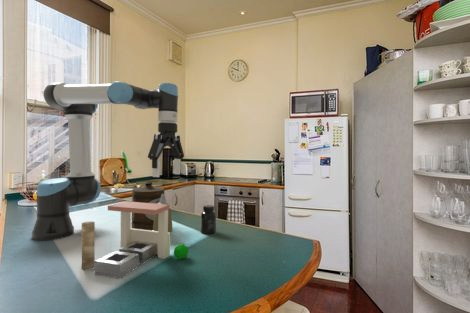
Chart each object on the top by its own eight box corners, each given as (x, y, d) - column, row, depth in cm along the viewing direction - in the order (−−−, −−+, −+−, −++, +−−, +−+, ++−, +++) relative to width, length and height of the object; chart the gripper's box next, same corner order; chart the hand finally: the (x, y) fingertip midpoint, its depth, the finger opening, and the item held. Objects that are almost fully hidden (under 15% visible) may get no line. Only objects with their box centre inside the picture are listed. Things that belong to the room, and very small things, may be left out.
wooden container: (151, 233, 128) (152, 183, 127) (124, 229, 133) (124, 181, 132) (170, 225, 142) (170, 180, 141) (145, 221, 147) (145, 178, 146)
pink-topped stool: (107, 259, 98) (107, 205, 97) (126, 249, 107) (126, 200, 107) (154, 265, 93) (155, 210, 92) (170, 255, 102) (170, 204, 102)
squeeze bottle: (167, 240, 118) (168, 196, 117) (149, 238, 120) (149, 195, 119) (175, 234, 126) (176, 193, 125) (158, 233, 128) (158, 192, 127)
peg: (78, 268, 89) (78, 223, 89) (87, 264, 93) (87, 221, 92) (88, 270, 89) (88, 224, 88) (97, 265, 92) (97, 222, 92)
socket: (94, 274, 86) (94, 261, 86) (114, 262, 95) (114, 250, 94) (120, 278, 83) (120, 265, 83) (138, 266, 92) (139, 254, 92)
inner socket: (118, 260, 96) (118, 248, 96) (135, 251, 105) (135, 240, 105) (142, 264, 94) (142, 251, 94) (157, 254, 103) (157, 243, 103)
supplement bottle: (198, 231, 132) (199, 205, 131) (213, 229, 134) (213, 204, 134) (203, 235, 125) (203, 208, 125) (218, 234, 128) (218, 207, 128)
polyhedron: (182, 254, 103) (182, 241, 103) (191, 258, 100) (191, 244, 100) (170, 258, 99) (170, 244, 99) (180, 262, 96) (180, 248, 96)
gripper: (154, 119, 104) (153, 178, 104) (192, 125, 126) (191, 173, 127) (138, 120, 107) (137, 177, 107) (178, 125, 129) (177, 172, 130)
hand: (167, 175), depth 117 cm, fingers open, 13 cm apart
